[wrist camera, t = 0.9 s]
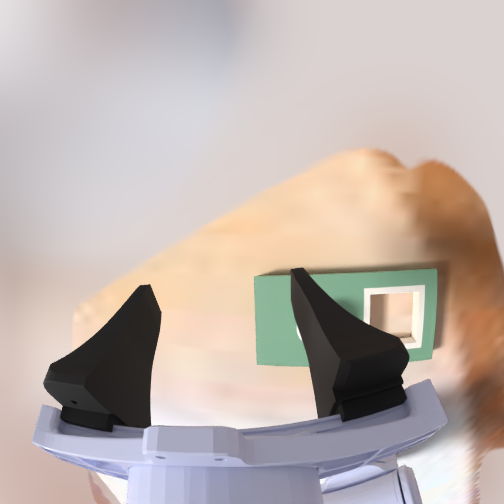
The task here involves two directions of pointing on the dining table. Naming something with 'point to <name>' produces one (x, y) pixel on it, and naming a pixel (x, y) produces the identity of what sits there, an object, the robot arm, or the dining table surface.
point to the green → (351, 299)
